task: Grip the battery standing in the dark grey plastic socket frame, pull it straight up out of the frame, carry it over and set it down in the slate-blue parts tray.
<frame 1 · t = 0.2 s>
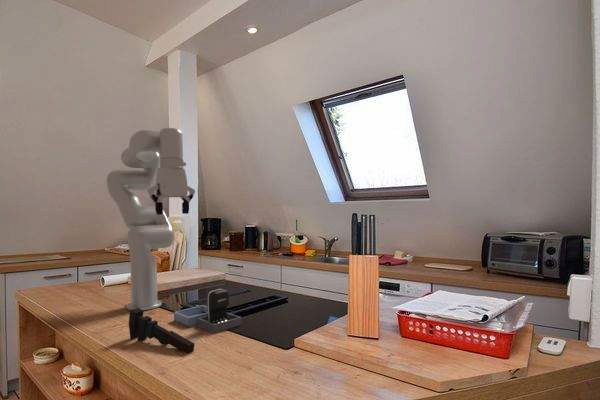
hand: (172, 214, 128), 36 cm above the worktop, tool pointing down, fingers open, 9 cm apart
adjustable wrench: (160, 346, 104), on the worktop
socket frame: (219, 325, 120), on the worktop
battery: (219, 326, 120), resting in socket frame
parts tray: (196, 319, 126), on the worktop
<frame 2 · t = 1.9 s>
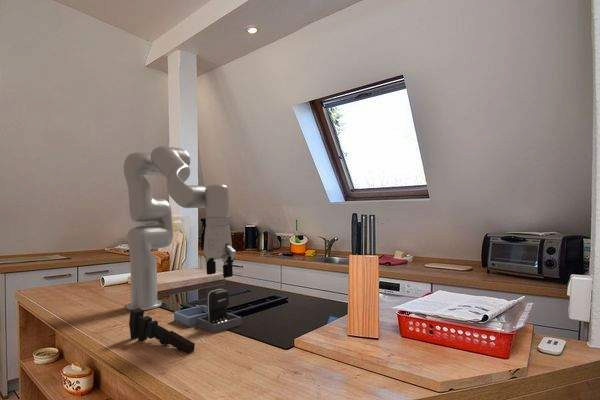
hand: (219, 275, 120), 16 cm above the worktop, tool pointing down, fingers open, 9 cm apart
nothing on the worktop moved.
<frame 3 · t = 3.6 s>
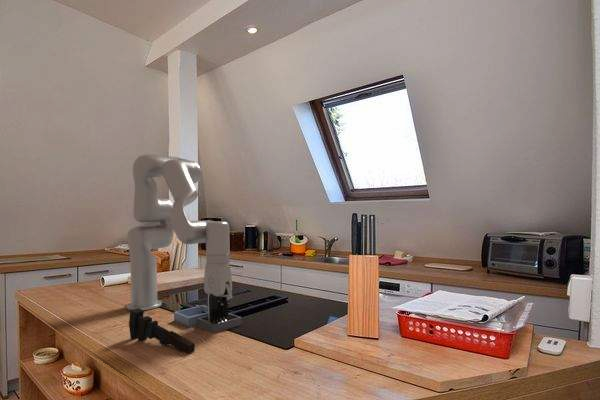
hand: (219, 315, 120), 3 cm above the worktop, tool pointing down, fingers closed on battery, 4 cm apart
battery: (219, 326, 120), resting in socket frame, touching gripper
everything else where it was.
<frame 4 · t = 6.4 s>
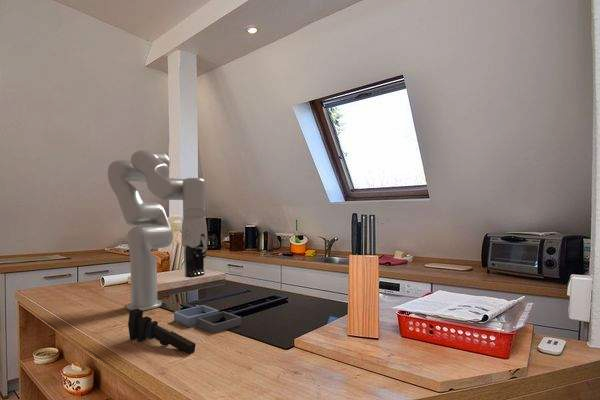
hand: (195, 267, 126), 18 cm above the worktop, tool pointing down, fingers closed on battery, 4 cm apart
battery: (195, 277, 126), point 15 cm above the worktop, touching gripper
everything else where it was.
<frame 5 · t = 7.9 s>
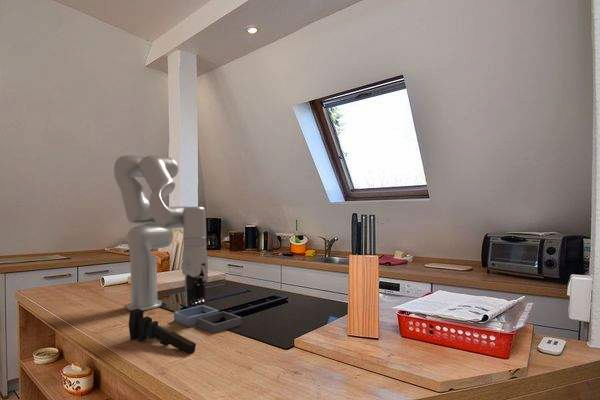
hand: (196, 295, 126), 8 cm above the worktop, tool pointing down, fingers closed on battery, 4 cm apart
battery: (196, 305, 126), point 5 cm above the worktop, touching gripper
everything else where it was.
when the fingers open (5 cm above the worktop, at t = 9.0 s): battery stays where it is, resting on parts tray.
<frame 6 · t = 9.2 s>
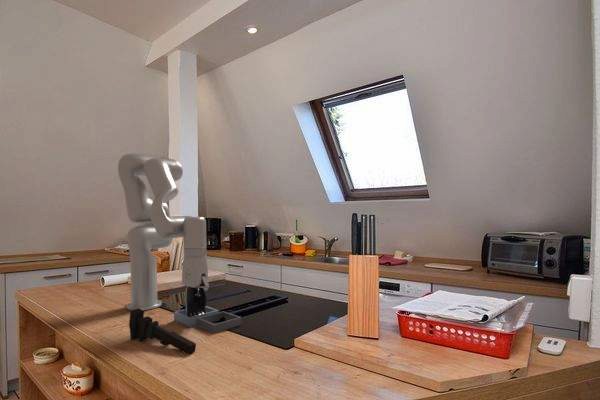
hand: (196, 305, 126), 5 cm above the worktop, tool pointing down, fingers open, 5 cm apart
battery: (196, 318, 126), resting on parts tray
everything else where it was.
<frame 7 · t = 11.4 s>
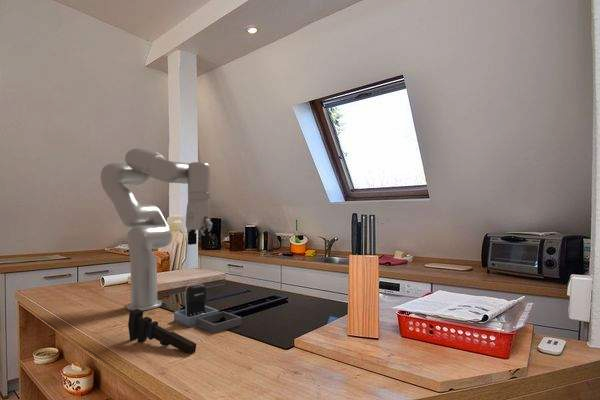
hand: (198, 245, 131), 25 cm above the worktop, tool pointing down, fingers open, 9 cm apart
nothing on the worktop moved.
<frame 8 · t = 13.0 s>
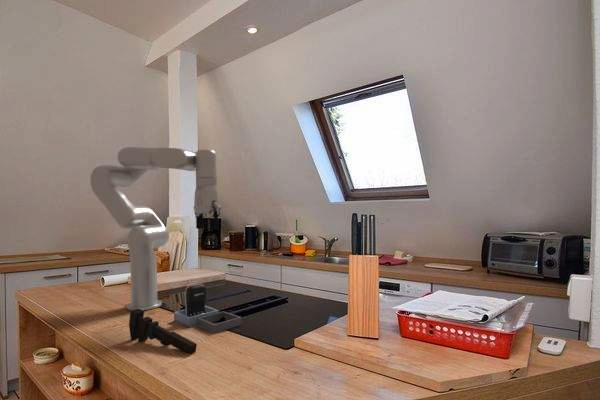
hand: (207, 228, 138), 30 cm above the worktop, tool pointing down, fingers open, 9 cm apart
nothing on the worktop moved.
at the end: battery inside the target area on the parts tray (0.2 cm from its centre), point 0.3 cm above the parts tray's base; the gripper is holding nothing; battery touching parts tray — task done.
